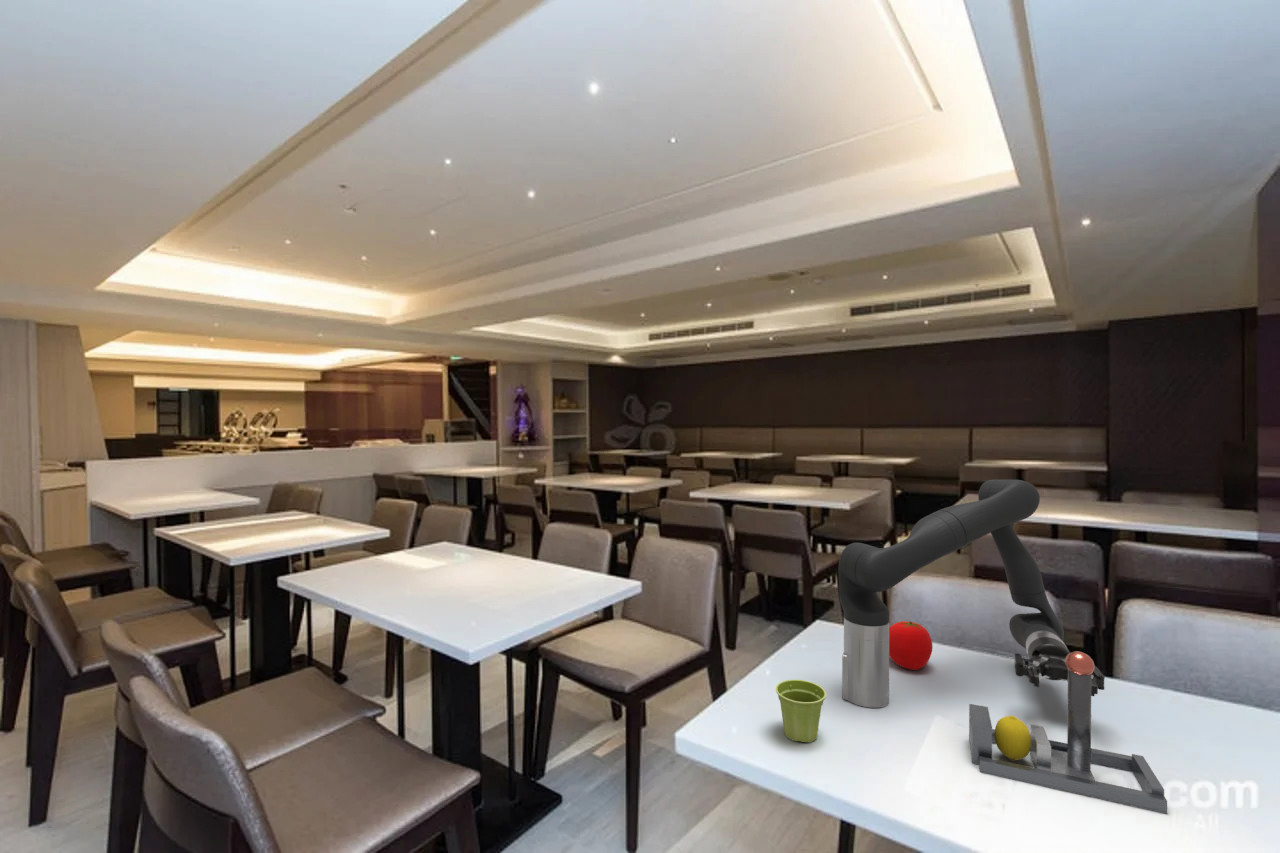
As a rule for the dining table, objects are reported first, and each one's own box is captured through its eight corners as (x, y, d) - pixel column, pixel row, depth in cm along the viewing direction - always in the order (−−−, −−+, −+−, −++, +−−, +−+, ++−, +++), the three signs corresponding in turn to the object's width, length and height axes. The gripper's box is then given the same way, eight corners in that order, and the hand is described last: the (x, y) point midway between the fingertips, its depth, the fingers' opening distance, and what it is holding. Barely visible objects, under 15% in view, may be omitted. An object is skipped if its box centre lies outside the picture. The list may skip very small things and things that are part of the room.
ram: (1037, 775, 100) (1038, 654, 99) (1029, 751, 107) (1030, 638, 107) (1099, 789, 96) (1100, 663, 96) (1087, 763, 103) (1088, 645, 103)
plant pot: (837, 740, 112) (837, 694, 111) (800, 754, 107) (800, 706, 107) (801, 718, 120) (801, 675, 120) (765, 730, 115) (765, 686, 115)
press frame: (973, 770, 102) (973, 730, 102) (968, 734, 113) (968, 698, 113) (1167, 813, 90) (1167, 768, 90) (1140, 769, 102) (1140, 729, 102)
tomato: (892, 674, 140) (892, 628, 140) (880, 656, 150) (880, 614, 150) (939, 676, 138) (940, 630, 138) (924, 658, 149) (924, 615, 149)
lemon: (1037, 771, 101) (1037, 725, 101) (1001, 767, 103) (1001, 722, 102) (1023, 753, 107) (1023, 709, 107) (989, 750, 108) (989, 706, 108)
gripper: (1009, 631, 128) (1019, 659, 113) (1090, 642, 122) (1112, 673, 107) (1008, 665, 128) (1019, 698, 113) (1089, 678, 122) (1111, 714, 107)
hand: (1064, 686), depth 110 cm, fingers open, 8 cm apart
